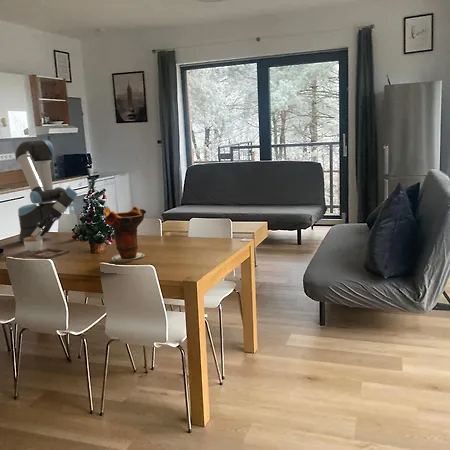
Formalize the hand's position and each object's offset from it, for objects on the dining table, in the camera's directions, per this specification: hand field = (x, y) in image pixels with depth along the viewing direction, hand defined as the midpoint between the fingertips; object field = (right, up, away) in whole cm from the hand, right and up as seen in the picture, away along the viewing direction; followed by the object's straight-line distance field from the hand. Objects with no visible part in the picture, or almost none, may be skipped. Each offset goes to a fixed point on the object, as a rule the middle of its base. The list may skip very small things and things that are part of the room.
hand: (34, 238), depth 296 cm
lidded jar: (-1, -7, +1) cm, 8 cm away
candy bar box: (+20, 0, +37) cm, 42 cm away
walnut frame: (+12, -9, -11) cm, 18 cm away
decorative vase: (+61, -10, -27) cm, 68 cm away
